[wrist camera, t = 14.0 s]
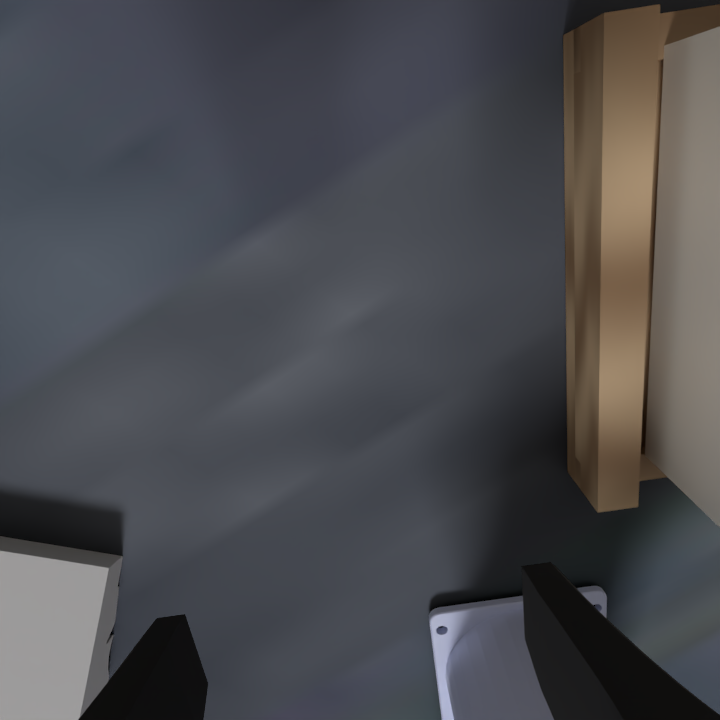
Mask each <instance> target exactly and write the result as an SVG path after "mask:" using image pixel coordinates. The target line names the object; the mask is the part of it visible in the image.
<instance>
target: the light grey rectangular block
mask: <svg viewBox="0 0 720 720" xmlns="http://www.w3.org/2000/svg"><path fill="white" fill-rule="evenodd" d="M645 456H646V457H647V458H648V459H649V460H650V461H651V462H652V463H653V464H654V465H655V466H657V467H658V468H659V469H660V470H661V471H662V472H663V473H664V474H665V475H666V476H667V477H668V478H669V479H670V480H671V481H672V482H673V483H674V484H675V485H676V486H677V487H678V488H679V489H680V490H681V491H682V492H683V493H685V494H686V495H687V496H688V497H689V498H690V499H691V500H692V501H693V502H694V503H695V504H696V505H697V506H698V507H699V508H700V509H701V510H702V511H703V512H704V513H705V514H706V515H707V516H708V517H709V518H710V519H711V520H713V521H714V522H715V523H716V524H717V525H718V526H719V527H720V26H719V27H717V28H714V29H711V30H708V31H705V32H702V33H699V34H696V35H694V36H691V37H688V38H685V39H682V40H679V41H676V42H673V43H671V44H668V45H665V46H664V60H663V81H662V103H661V124H660V145H659V166H658V187H657V208H656V230H655V251H654V272H653V293H652V314H651V336H650V357H649V378H648V399H647V420H646V441H645Z"/></svg>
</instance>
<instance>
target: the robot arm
mask: <svg viewBox="0 0 720 720" xmlns="http://www.w3.org/2000/svg"><path fill="white" fill-rule="evenodd" d="M521 567H522V589H523V596H517V597H509V598H502V599H495V600H488V601H481V602H474V603H467V604H460V605H452V606H445V607H438V608H435V609H433V610H432V611H431V612H430V614H429V624H430V632H431V640H432V647H433V655H434V663H435V671H436V679H437V687H438V695H439V703H440V710H441V718H442V720H720V715H719V714H718V713H716V712H715V711H714V710H712V709H711V708H710V707H708V706H707V705H706V704H705V703H703V702H702V701H701V700H699V699H698V698H697V697H696V696H694V695H693V694H692V693H691V692H689V691H688V690H687V689H686V688H684V687H683V686H682V685H681V684H680V683H678V682H677V681H676V680H675V679H674V678H672V677H671V676H670V675H669V674H668V673H666V672H665V671H664V670H663V669H662V668H661V667H659V666H658V665H657V664H656V663H655V662H653V661H652V660H651V659H650V658H649V657H648V656H647V655H646V654H644V653H643V652H642V651H641V650H640V649H639V648H638V647H637V646H635V645H634V644H633V643H632V642H631V641H630V640H629V639H628V638H627V637H626V636H625V635H624V634H623V633H621V632H620V631H619V630H618V629H617V628H616V627H615V626H614V625H613V624H612V623H611V622H610V621H609V620H608V619H607V596H606V594H605V592H604V590H603V589H602V588H601V587H599V586H588V587H581V588H576V587H575V586H574V585H573V584H572V583H571V582H570V581H569V580H568V579H567V578H566V577H565V576H564V575H563V574H562V573H561V571H560V570H559V569H558V568H557V567H556V566H555V565H553V564H552V563H551V562H548V563H541V564H534V565H527V566H521ZM596 604H597V605H596ZM593 605H595V606H593ZM440 626H444V627H442V628H438V627H440ZM207 688H208V682H207V679H206V676H205V673H204V670H203V667H202V664H201V661H200V658H199V655H198V652H197V649H196V646H195V643H194V640H193V637H192V634H191V631H190V628H189V625H188V622H187V619H186V616H185V614H184V615H177V616H170V617H163V618H157V619H156V620H155V621H154V623H153V624H152V625H151V626H150V628H149V629H148V630H147V631H146V633H145V634H144V635H143V637H142V638H141V639H140V641H139V642H138V643H137V644H136V646H135V647H134V648H133V650H132V651H131V652H130V654H129V655H128V656H127V658H126V659H125V660H124V662H123V663H122V664H121V666H120V667H119V668H118V669H117V671H116V672H115V673H114V675H113V676H112V677H111V679H110V680H109V681H108V683H107V684H106V685H105V686H104V688H103V689H102V690H101V691H100V693H99V694H98V695H97V697H96V698H95V699H94V700H93V702H92V703H91V704H90V705H89V707H88V708H87V709H86V710H85V712H84V713H83V714H82V716H81V717H80V718H79V719H78V720H203V718H204V711H205V703H206V696H207Z"/></svg>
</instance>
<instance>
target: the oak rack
mask: <svg viewBox="0 0 720 720" xmlns="http://www.w3.org/2000/svg"><path fill="white" fill-rule="evenodd" d="M719 26H720V4H718V5H712V6H705V7H699V8H692V9H686V10H680V11H673V12H667V13H660V4H658V5H651V6H645V7H638V8H632V9H625V10H619V11H612V12H606V13H603V14H601V15H599V16H597V17H596V18H594V19H592V20H590V21H588V22H586V23H585V24H583V25H581V26H579V27H577V28H576V29H574V30H572V31H570V32H568V33H566V34H565V35H563V64H564V166H565V268H566V369H567V471H568V473H569V474H570V476H571V477H572V479H573V480H574V481H575V483H576V484H577V485H578V487H579V488H580V489H581V491H582V492H583V494H584V495H585V496H586V498H587V499H588V500H589V502H590V503H591V504H592V506H593V507H594V508H595V510H596V511H597V513H599V512H606V511H613V510H620V509H627V508H634V507H638V502H639V481H644V480H651V479H658V478H665V477H667V476H666V475H665V474H664V473H663V472H662V471H661V470H660V469H659V468H658V467H657V466H655V465H654V464H653V463H652V462H651V461H650V460H649V459H648V458H647V457H646V456H645V441H646V420H647V399H648V378H649V357H650V336H651V314H652V293H653V272H654V251H655V230H656V208H657V187H658V166H659V145H660V124H661V103H662V81H663V60H664V46H665V45H668V44H671V43H673V42H676V41H679V40H682V39H685V38H688V37H691V36H694V35H696V34H699V33H702V32H705V31H708V30H711V29H714V28H717V27H719Z"/></svg>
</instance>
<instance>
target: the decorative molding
mask: <svg viewBox="0 0 720 720" xmlns="http://www.w3.org/2000/svg"><path fill="white" fill-rule="evenodd" d="M122 558H123V556H119V555H113V554H106V553H100V552H94V551H88V550H82V549H76V548H69V547H63V546H57V545H51V544H45V543H39V542H33V541H26V540H20V539H14V538H8V537H2V536H0V720H78V719H79V718H80V717H81V716H82V714H83V713H84V712H85V710H86V709H87V708H88V707H89V705H90V704H91V703H92V702H93V700H94V699H95V698H96V697H97V695H98V694H99V693H100V691H101V690H102V689H103V688H104V686H105V685H106V684H107V683H108V679H109V671H108V662H109V653H110V648H111V644H112V640H113V636H114V635H110V634H111V631H112V629H113V626H114V624H115V619H116V610H117V601H118V593H119V587H118V582H119V577H120V572H121V566H122Z"/></svg>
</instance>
